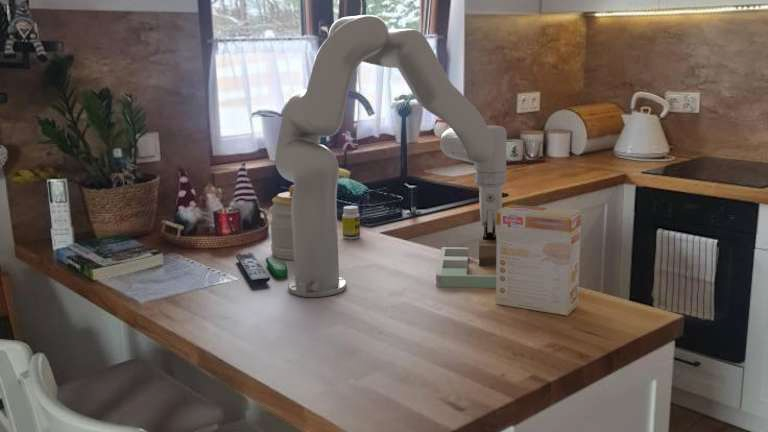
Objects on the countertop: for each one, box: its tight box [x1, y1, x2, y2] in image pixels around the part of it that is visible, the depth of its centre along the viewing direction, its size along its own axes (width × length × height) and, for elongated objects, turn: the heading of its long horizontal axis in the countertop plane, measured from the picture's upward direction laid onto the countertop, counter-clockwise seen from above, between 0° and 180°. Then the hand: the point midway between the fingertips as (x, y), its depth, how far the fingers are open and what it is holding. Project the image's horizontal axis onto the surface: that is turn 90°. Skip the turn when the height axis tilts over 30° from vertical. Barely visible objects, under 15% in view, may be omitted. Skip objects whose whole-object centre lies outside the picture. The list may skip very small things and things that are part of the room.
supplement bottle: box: [341, 205, 361, 240], centre depth 206 cm, size 5×5×8 cm
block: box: [478, 239, 497, 267], centre depth 180 cm, size 5×5×5 cm
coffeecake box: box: [495, 204, 582, 317], centre depth 149 cm, size 15×7×20 cm, turn 59°
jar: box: [268, 184, 294, 261], centre depth 190 cm, size 13×13×18 cm
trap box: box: [435, 246, 496, 289], centre depth 174 cm, size 23×18×2 cm
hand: (489, 251), depth 185 cm, fingers closed
